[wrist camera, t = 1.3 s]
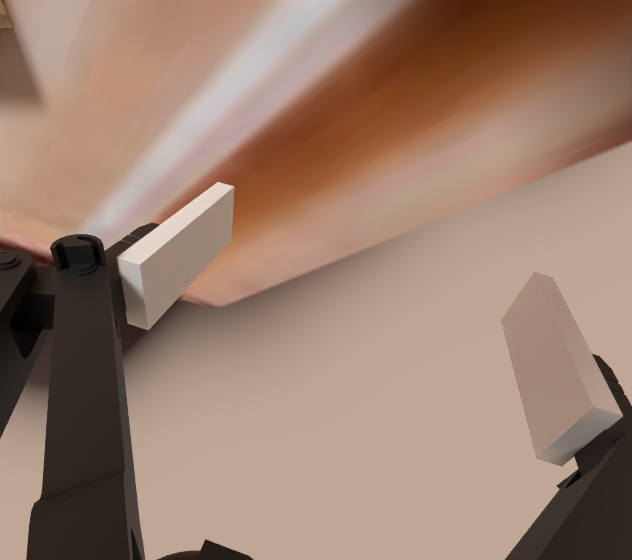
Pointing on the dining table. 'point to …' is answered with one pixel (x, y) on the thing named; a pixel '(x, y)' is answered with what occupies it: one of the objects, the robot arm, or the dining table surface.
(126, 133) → the dining table surface
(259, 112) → the dining table surface
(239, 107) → the dining table surface
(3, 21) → the crate
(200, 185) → the dining table surface
